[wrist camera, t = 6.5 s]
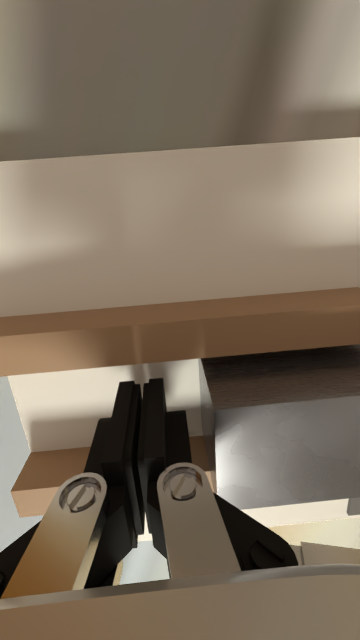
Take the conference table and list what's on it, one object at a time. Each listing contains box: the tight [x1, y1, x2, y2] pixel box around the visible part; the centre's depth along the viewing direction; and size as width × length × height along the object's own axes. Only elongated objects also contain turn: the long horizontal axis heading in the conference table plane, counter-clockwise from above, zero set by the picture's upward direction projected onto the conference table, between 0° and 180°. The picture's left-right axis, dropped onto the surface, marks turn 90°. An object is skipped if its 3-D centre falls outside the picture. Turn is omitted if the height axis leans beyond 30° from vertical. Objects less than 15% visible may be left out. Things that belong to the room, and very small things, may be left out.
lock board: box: [0, 137, 360, 541], centre depth 12 cm, size 23×18×5 cm
